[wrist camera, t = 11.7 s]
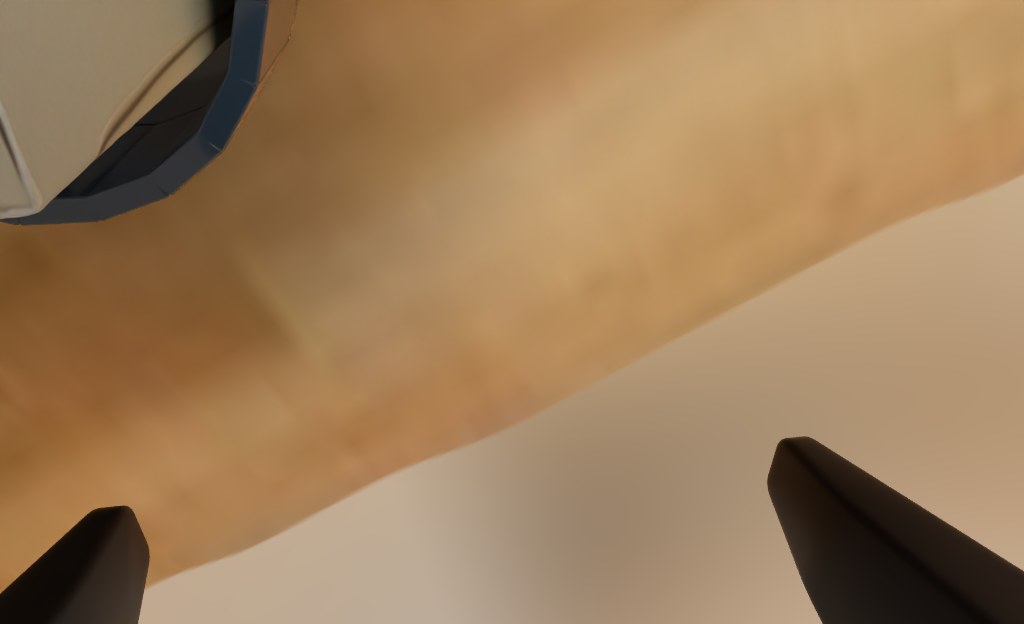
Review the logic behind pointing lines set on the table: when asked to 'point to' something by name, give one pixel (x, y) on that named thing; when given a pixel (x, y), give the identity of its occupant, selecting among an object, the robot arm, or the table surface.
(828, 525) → the robot arm
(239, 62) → the crock
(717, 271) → the table surface
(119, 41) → the cosmetic box
